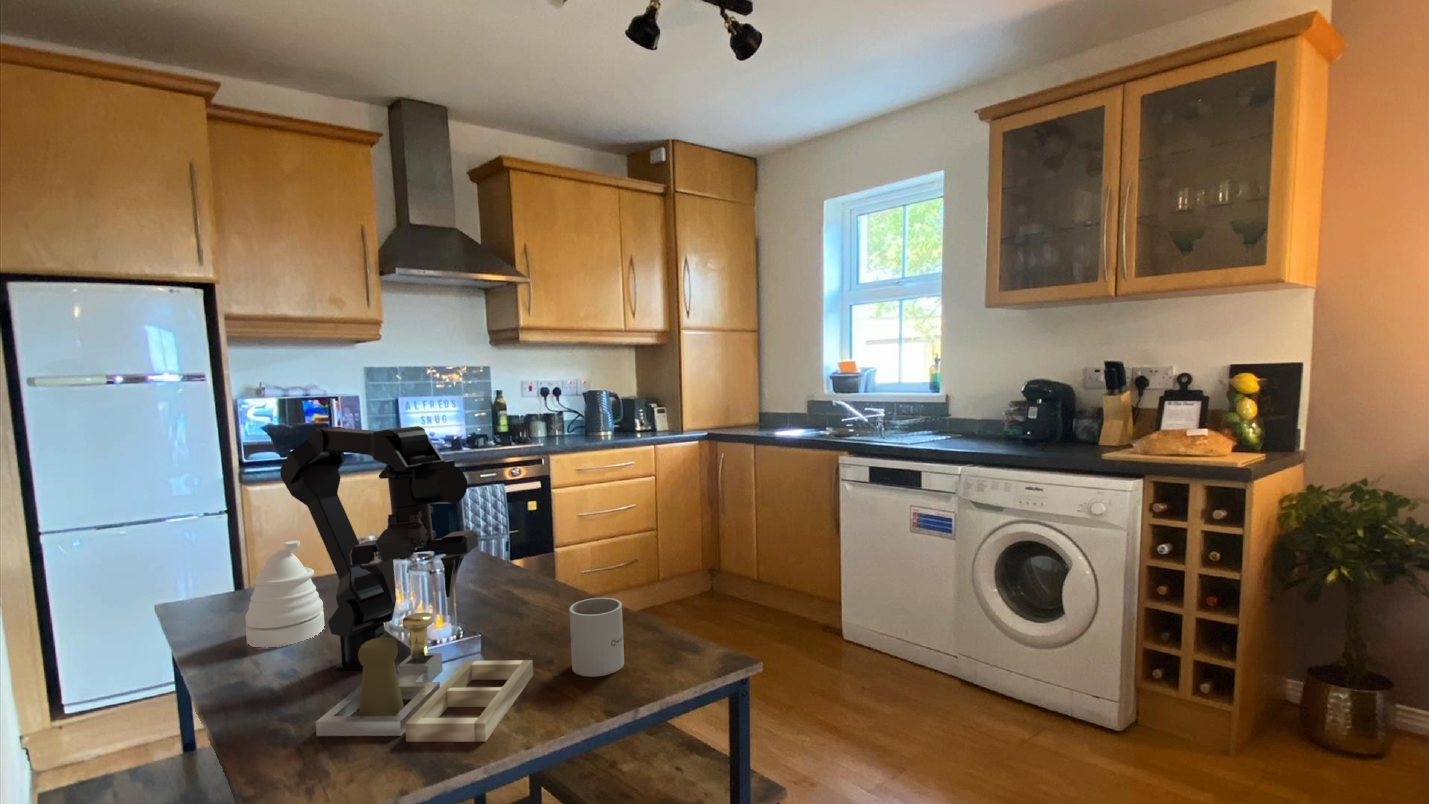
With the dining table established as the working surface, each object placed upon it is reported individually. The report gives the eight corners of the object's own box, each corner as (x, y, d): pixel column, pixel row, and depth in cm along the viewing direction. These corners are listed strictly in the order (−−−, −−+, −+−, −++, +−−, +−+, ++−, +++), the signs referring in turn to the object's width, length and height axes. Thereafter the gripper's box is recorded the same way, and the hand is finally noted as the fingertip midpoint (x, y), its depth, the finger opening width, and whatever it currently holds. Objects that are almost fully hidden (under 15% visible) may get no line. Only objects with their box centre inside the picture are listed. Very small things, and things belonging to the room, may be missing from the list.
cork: (386, 726, 98) (382, 650, 98) (349, 723, 99) (344, 647, 99) (413, 705, 104) (409, 633, 104) (377, 702, 105) (373, 631, 105)
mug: (606, 679, 111) (604, 618, 110) (561, 672, 114) (558, 612, 114) (643, 649, 122) (641, 593, 122) (601, 643, 125) (599, 589, 125)
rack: (406, 741, 94) (405, 723, 94) (467, 675, 114) (466, 660, 114) (485, 741, 93) (485, 723, 93) (533, 675, 113) (532, 660, 113)
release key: (399, 660, 112) (397, 622, 111) (413, 649, 116) (411, 612, 116) (426, 660, 111) (424, 622, 111) (438, 649, 116) (436, 612, 115)
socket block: (316, 735, 96) (315, 714, 96) (393, 671, 117) (392, 653, 116) (400, 735, 96) (399, 714, 95) (463, 670, 116) (462, 652, 116)
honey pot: (330, 619, 143) (325, 532, 142) (316, 642, 131) (310, 547, 130) (258, 628, 139) (252, 539, 138) (237, 653, 127) (230, 555, 126)
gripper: (325, 519, 105) (337, 622, 105) (448, 506, 105) (459, 609, 105) (362, 507, 116) (373, 600, 116) (474, 495, 116) (484, 588, 116)
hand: (420, 599), depth 113 cm, fingers open, 9 cm apart
